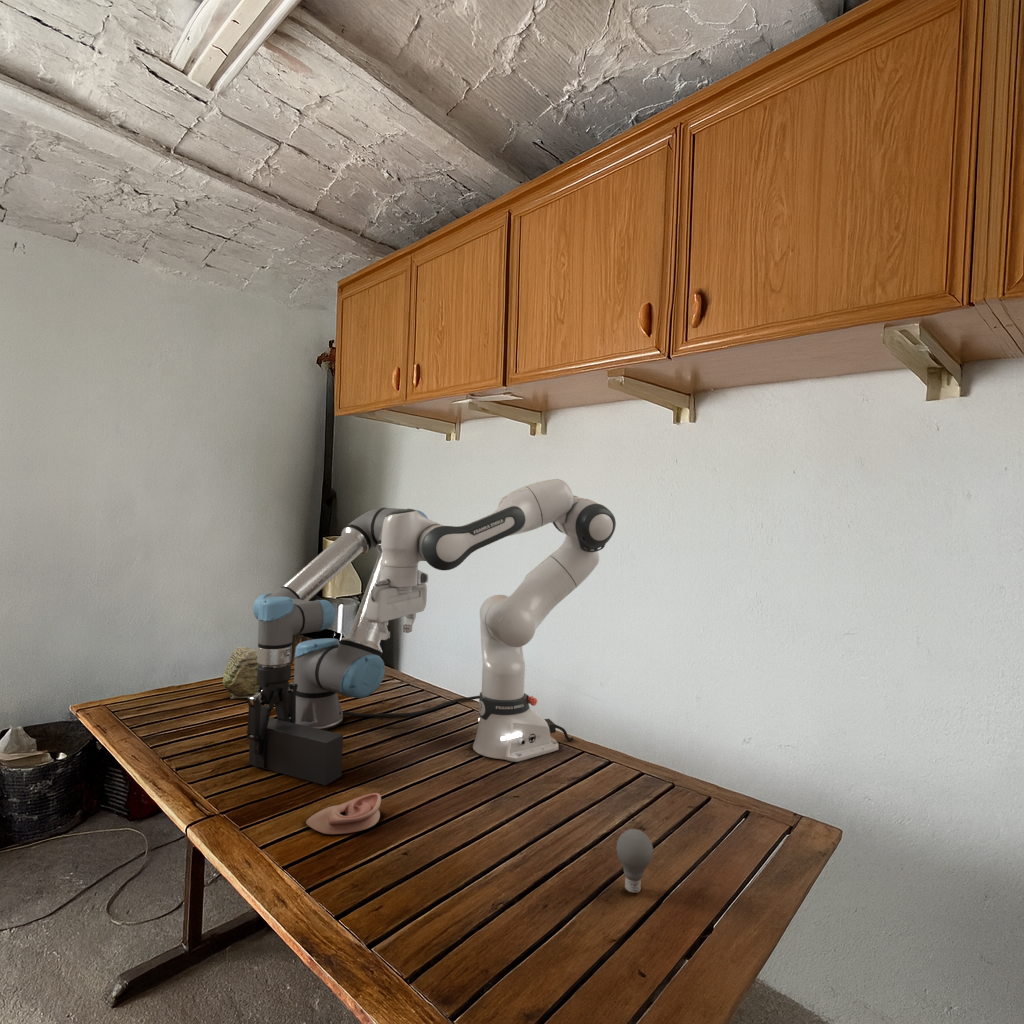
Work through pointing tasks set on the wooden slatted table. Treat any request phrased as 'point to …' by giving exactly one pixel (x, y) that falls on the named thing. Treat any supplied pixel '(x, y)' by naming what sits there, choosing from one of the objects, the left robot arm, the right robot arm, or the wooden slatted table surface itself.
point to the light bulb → (634, 857)
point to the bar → (302, 751)
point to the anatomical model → (347, 816)
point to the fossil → (242, 673)
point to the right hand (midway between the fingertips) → (396, 635)
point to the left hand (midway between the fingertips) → (270, 761)
